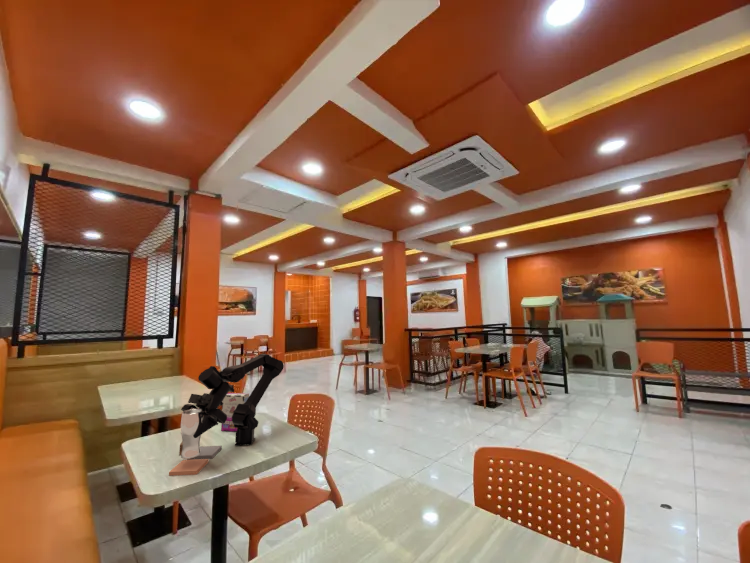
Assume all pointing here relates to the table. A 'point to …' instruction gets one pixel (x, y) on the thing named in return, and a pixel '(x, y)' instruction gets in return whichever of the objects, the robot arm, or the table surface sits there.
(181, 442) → the walnut block
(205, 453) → the slate tile
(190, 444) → the beer glass
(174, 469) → the terracotta tile
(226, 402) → the candy bar box
